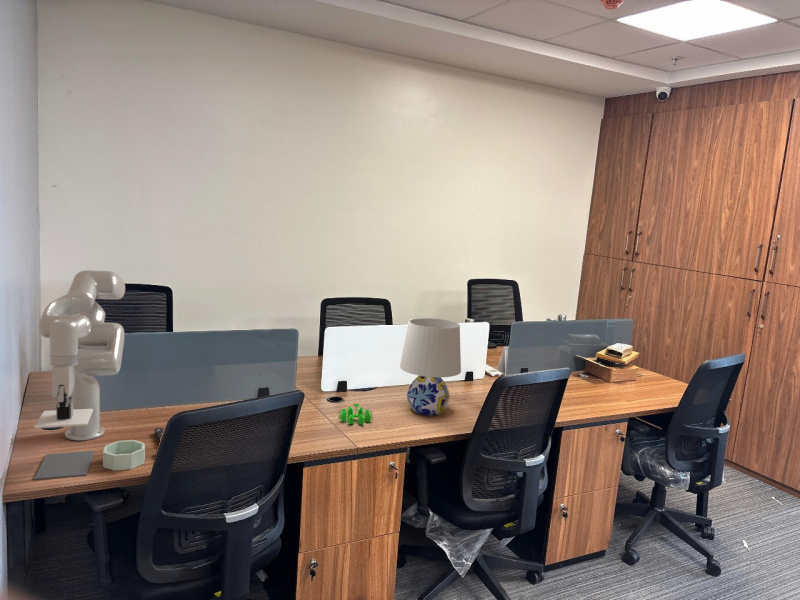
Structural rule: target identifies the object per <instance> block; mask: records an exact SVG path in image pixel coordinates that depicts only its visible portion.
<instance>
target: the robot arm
mask: <svg viewBox="0 0 800 600" xmlns="http://www.w3.org/2000/svg"><path fill="white" fill-rule="evenodd" d="M125 292H126V284H125V280H124V279H123V278H122V277H121V276H120V275H119V274H118V273H117V272H114V271H110V270H81V271H79V272H78V273H76V274H75V275H74V277H73V280H72V282H71V284H70V288H69V290H68V292H67V294H65V295H62V296H60V297H59V298H56V299H55V300H53V301H52V302H50V303H48V305H47V306H46V307H45V308H44V311H43V312H42V315H41V317H40V320H39V323H38V331H39V334H40V335H41V336H42V337H44V338H45V339H49V363H50V366H51V367H53V368H52V380H51V381H52V382H51V386H52V388H51V397H52V398H53V399H55V398H57V402H58V407H57V411H58V419H69V417H70V406H68V400H71V399H73V409H93V412H92V414H91V417H90V419H89V421H88V424H87V425H85V426H69V429H67V430H66V431H65V432H64V437H65V439H68V440H71V441H88V440H93V439H97V438H99V437H101V436H103V435H104V434H105V431H106V429H105V428H104V427H103V426H101V425H100V424H101V421H100V420H101V419H100V417H101V413H100V409H101V408H100V402H101V401H100V400H101V399H100V390H101V389H100V384H99V382H98V380H97V379H96V378H95V377H94V376H114V375H117V374H119V372H120V370H121V366H122V362H123V361H122V359H123V353H124V351H123V350H124V347H125V346H124V345H125V330H124V327H123V325H121V324H120V323H117V322H105V319H106V312H105V310H104V309H103V307H102V306H101V305H100V304H99V303H98V302H96V300H121V299H122V298H123V297H124V296H125ZM79 347H80V348H79ZM65 400H66V401H65Z"/></svg>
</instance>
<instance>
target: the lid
mask: <svg viewBox="0 0 800 600" xmlns="http://www.w3.org/2000/svg"><path fill="white" fill-rule="evenodd" d="M65 401H66V400H65ZM68 406H70V417H69V419H58V411H57V407H58V401H57V402H56V406H55V407H56V408H55V410H53V409H52V410H44V411H43V412H42V414H41V415H40V417H39V418H38V419H37V421H36V423H35V425H33V426H34V427H33V428H34V429H43V428H45V429H49V428H61V427H63V428H65V427H66V428H67V427H70V426H85V425H87V424H88V421H89V419H90V417H91V414H92V412H93V409H73V399H71V400H68Z"/></svg>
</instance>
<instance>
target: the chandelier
mask: <svg viewBox="0 0 800 600" xmlns="http://www.w3.org/2000/svg"><path fill="white" fill-rule="evenodd" d="M353 406H354V407H355V413H354V408H353ZM353 406H349V407H347V408H341V409H340V410H339V412H338V420H339V421H340V422H341V421H342V422H347V421H348V423H347V424H348V425H349V426H351V425H354V419H355V418H357V419H358V420H357V422H358V425H361V426H363V425H364V423H369V422H370V423H372V421H373V419H374V417H373V412H372V410H370V409H365V410H363V406H360V404H359V403H354V404H353ZM359 406H360V407H359ZM357 407H359V408H358V409H357Z"/></svg>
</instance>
